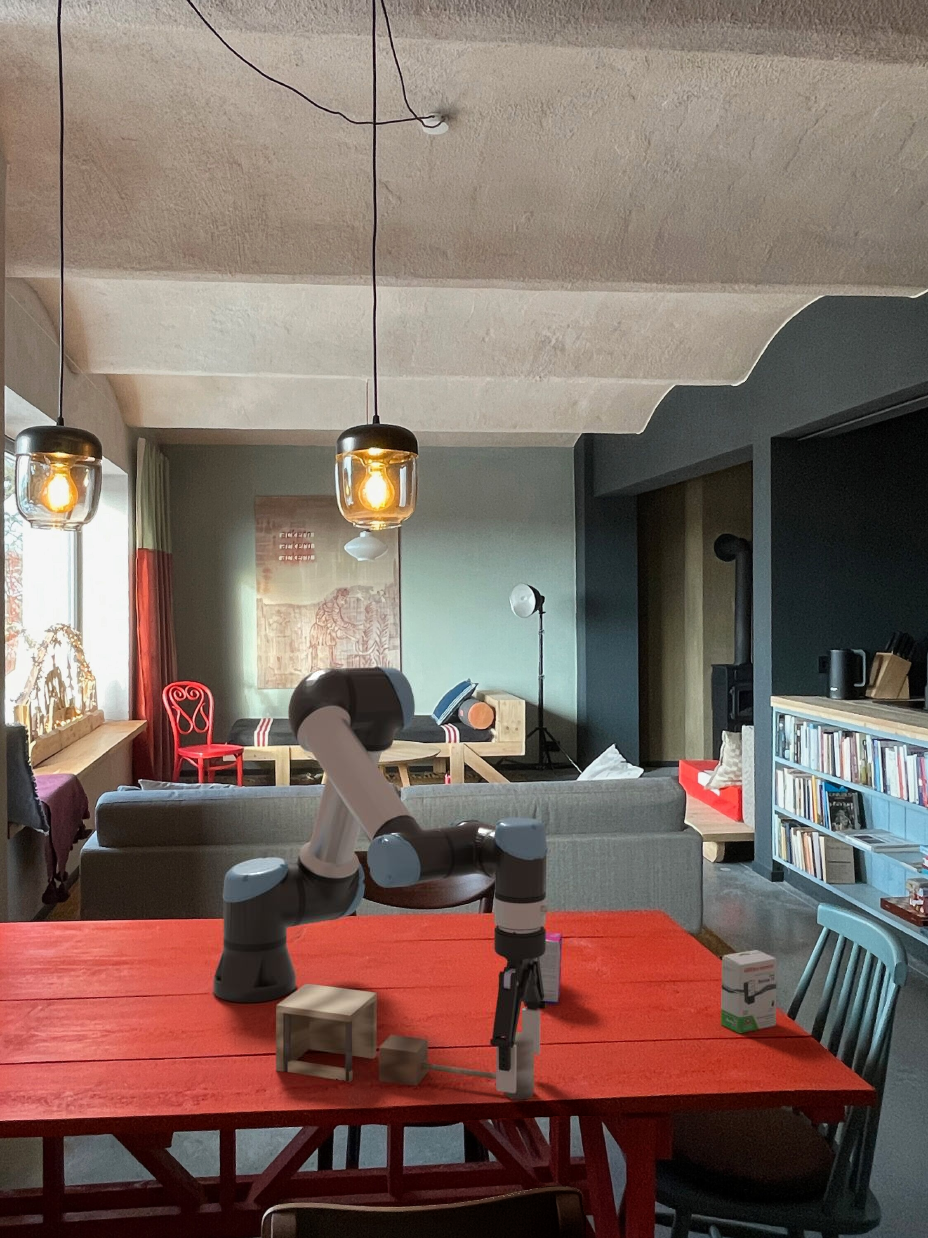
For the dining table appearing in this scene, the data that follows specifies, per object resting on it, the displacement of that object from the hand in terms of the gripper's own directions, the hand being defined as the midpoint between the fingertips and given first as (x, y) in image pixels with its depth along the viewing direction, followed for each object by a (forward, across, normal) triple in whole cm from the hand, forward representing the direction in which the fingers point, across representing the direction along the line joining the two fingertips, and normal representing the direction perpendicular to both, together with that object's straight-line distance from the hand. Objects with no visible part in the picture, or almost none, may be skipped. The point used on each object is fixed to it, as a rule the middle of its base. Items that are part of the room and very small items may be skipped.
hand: (519, 1071), depth 152 cm
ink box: (+3, +38, -30) cm, 49 cm away
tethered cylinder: (+3, 0, +9) cm, 10 cm away
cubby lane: (+3, 0, +31) cm, 31 cm away
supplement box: (+3, +38, +6) cm, 39 cm away
